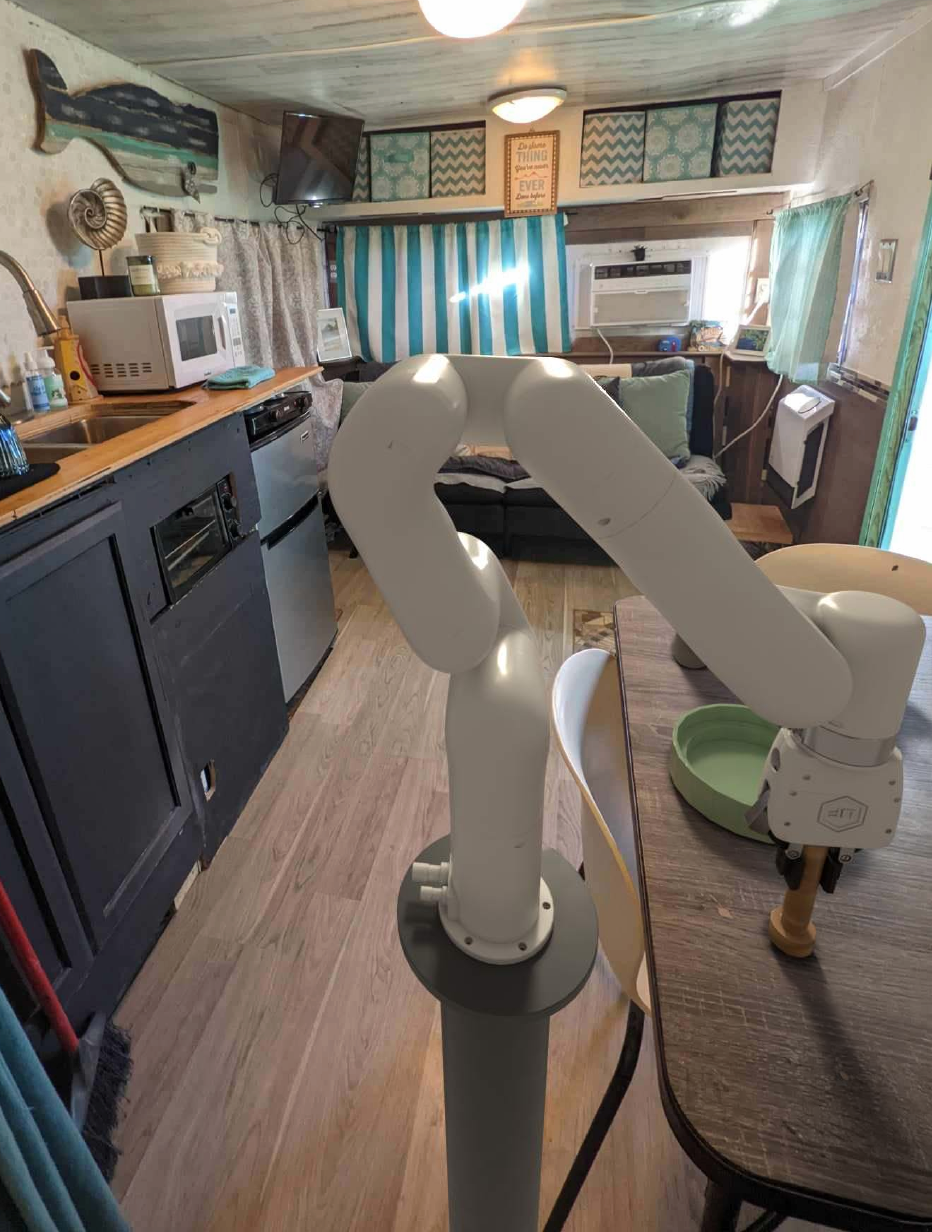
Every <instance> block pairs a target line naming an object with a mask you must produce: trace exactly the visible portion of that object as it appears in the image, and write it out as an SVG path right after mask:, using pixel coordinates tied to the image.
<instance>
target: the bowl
mask: <svg viewBox="0 0 932 1232" xmlns="http://www.w3.org/2000/svg"><path fill="white" fill-rule="evenodd" d="M780 730H781V728H779V727H778V726H777V725H776V724H774V723H771V722H769V721H767V720H765V719H763V718H762V717H760V716H758V715H757V714H755V713H754V712H753V711H752V710H750V709H749V708H748V707H747V706H746V705H745V704H737V703H736V704H735V703H734V704H733V703H713V704H712V703H711V704H707V705H706V704H705V705H700V706H697V707H695V708H692V709H691V710H689V711H687V712H684V713H682V715H681V716H680V717H679V719H677V721H676V722H675V723H674V725H673V730H672V735H671V736H672V737H671V745H670V750H669V751H670V752H669V759H668V766H667V767H668V771H669V773H670V777H671V779H672V782H673V785H674V786H675V787H676V789H677V790H678V791H679V793H680V794H681V795H682V797H683V798H684V799H685V801H686V802H687V803H688V804H689V805H691V806H692V807H693V808H694V809H695V810H697V811H698V812H699V813H700V814H701V815H703V816H704V817H705V818H706V819H708V820H709V821H711V822H713V823H715V824H716V825H718V826H721V827H723V828H725V829H726V830H729V831H731V832H733V833H734V834H737V835H739V836H743V837H746V838H749V839H752V840H757V841H759V842H762V843H767V844H774V845H776V844H775V843H774V842H773V841H772V840H771V839H770V837H769V836H766V835H765V836H764V835H762V834H759V833H757V832H755V831H752V830H750V829H749V827H748V825H747V823H746V821H745V819H744V815H745V814H746V813H747V812H748V810H749V809H750V808H751V807H752V806H753V805H754V804H755V803H756V801H757V796H758V789H759V784H760V780H761V776H762V772H763V769H764V766H765V762H766V760H767V757H768V754H769V752H770V749H771V747H772V745H773V743H774V741H775V739H776V737H777V735H778V733H779V731H780Z"/></svg>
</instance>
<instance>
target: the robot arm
mask: <svg viewBox="0 0 932 1232" xmlns="http://www.w3.org/2000/svg"><path fill="white" fill-rule="evenodd" d="M459 445H461V446H476V447H477V446H478V447H494V448H495V447H496V448H497V447H499V448H507V449H509V451H510V454H511V455H512V456H513V458H514V459H515V461H516V462H517V463H518V464H519V465H520V466H521V467H522V469H523V470H524V471H525V472H526V473H527V474H528V475H529V476H530V477H531V479H533V480H534V481H535V482H536V483H537V484H538V485H539V486H540V487H541V488H542V490H544V491H545V492H546V493H547V494H548V495H549V496H550V497H551V498H552V499H553V500H554V501H555V502H556V504H558V505H559V506H560V507H561V508H562V509H563V510H564V511H565V513H567V514H568V515H569V516H570V517H571V518H572V519H573V520H574V521H575V522H576V523H577V524H578V525H579V526H580V527H581V528H582V529H583V530H584V532H586V533H587V534H588V535H589V536H590V538H591V539H593V541H595V543H597V544H598V546H600V547H601V548H602V550H604V552H606V554H607V555H608V556H609V557H610V558H611V559H612V560H613V561H614V562H615V563H616V565H618V567H619V568H620V569H621V570H622V572H623V573H624V574H625V575H626V577H627V578H628V580H629V581H630V582H631V583H632V584H633V585H634V587H635V588H636V589H637V590H638V592H640V594H642V595H643V597H644V598H646V600H647V601H648V602H649V603H650V604H651V605H652V606H653V608H654V609H655V610H657V612H658V613H659V614H660V615H661V616H662V617H663V618H664V619H665V620H666V622H667V623H668V624H669V625H670V626H671V628H672V629H673V630H674V631H675V633H676V632H677V633H678V634H679V636H680V637H681V638H682V639H683V640H684V641H685V642H686V644H687V645H688V646H689V647H690V648H691V649H692V650H693V652H694V653H695V654H696V655H697V656H698V657H699V658H700V659H701V661H702V662H703V663H704V664H705V666H706V667H707V668H708V669H709V671H711V672H712V674H714V676H715V677H717V678H718V680H719V681H720V682H722V683H723V685H725V686H726V687H727V688H728V689H729V690H730V691H731V693H733V695H734V696H736V697H737V698H738V699H739V701H740V702H742V703H743V705H745V706H747V707H748V708H749V709H750V710H752V711H753V712H754V713H755V714H757V715H758V716H760V717H762V718H763V719H765V720H767V721H769V722H771V723H774V724H776V725H777V726H778V727H779V728H781V730H780V731H779V733H778V735H777V737H776V739H775V741H774V743H773V745H772V747H771V749H770V752H769V754H768V757H767V760H766V762H765V766H764V769H763V772H762V776H761V780H760V784H759V789H758V796H757V801H756V803H755V804H754V805H753V806H752V807H751V808H750V809H749V810H748V812H747V813H746V814H745V815H744V819H745V821H746V823H747V825H748V827H749V829H750V830H752V831H755V832H757V833H759V834H762V835H764V836H765V835H766V836H769V837H770V839H771V840H772V841H773V842H774V843H775V844H774V843H773V844H774V845H776V846H777V849H776V850H777V851H776V854H775V860H774V863H775V868H776V870H777V873H778V875H780V876H783V878H784V880H785V882H786V885H787V886H788V887H789V889H790V890H794V891H797V889H799V887H800V883H801V879H802V875H803V871H804V867H805V861H804V859H803V857H802V855H801V852H802V849H803V846H804V844H807V845H819V846H829V849H828V853H827V856H826V860H825V864H824V868H823V872H822V876H821V880H820V883H819V886H820V887H821V890H822V891H823V892H825V894H830V895H833V894H834V892H835V890H836V886H837V883H838V882H837V881H839V880H840V878H841V874H842V871H843V867H844V864H850V863H851V862H852V861H853V859H854V855H855V854H857V853H859V852H860V851H863V850H864V849H865V850H877V849H885V848H887V847H889V846H890V845H891V843H892V842H893V840H894V839H895V837H896V833H897V830H898V829H897V828H898V824H899V820H900V815H901V809H902V802H903V795H904V759H903V757H904V756H903V753H902V752H901V750H900V748H898V747H897V745H896V744H897V740H898V737H899V734H900V730H901V726H902V722H903V720H904V715H905V712H906V708H907V705H908V701H909V698H910V695H911V691H912V688H913V685H914V681H915V678H916V674H917V671H918V667H919V664H920V661H921V657H922V653H923V650H924V647H925V644H926V643H925V642H926V637H927V627H926V623H925V621H924V619H923V618H922V616H921V615H920V614H919V613H918V612H917V611H916V610H915V609H913V608H912V607H910V606H909V605H908V604H906V603H905V602H902V601H901V600H898V599H895V598H893V597H890V596H887V595H883V594H880V593H875V592H870V591H864V590H863V591H862V590H841V591H834V592H829V593H827V592H821V591H814V590H807V589H802V588H801V589H800V588H797V587H791V586H786V585H780V584H775V583H774V582H773V581H772V580H771V579H770V578H769V576H768V575H767V574H766V573H765V572H764V571H763V569H762V568H761V567H760V565H758V564H757V563H756V561H755V560H754V559H753V558H752V557H751V556H750V554H749V553H748V552H747V551H746V549H745V548H744V547H743V545H742V544H741V543H740V541H739V540H738V539H737V537H736V536H735V535H734V533H733V531H732V530H731V529H730V528H729V526H728V525H727V524H726V522H725V521H724V519H723V518H722V516H721V515H720V514H719V513H718V511H716V509H715V508H714V507H713V506H712V505H711V504H710V502H709V501H708V500H707V499H706V498H705V496H704V495H703V494H702V493H701V492H700V491H699V490H698V488H697V487H696V486H695V485H694V484H693V483H691V481H690V480H689V479H688V478H687V477H686V476H685V475H684V474H683V473H682V471H680V469H678V468H677V466H675V464H673V462H671V460H670V459H669V458H668V457H667V456H666V455H665V454H664V452H662V451H661V450H660V449H659V448H658V447H657V445H656V444H655V443H654V442H653V441H652V440H651V439H650V438H649V437H648V436H647V434H645V432H643V431H642V429H641V428H640V427H639V426H638V425H637V424H636V423H635V422H634V421H633V420H632V418H630V416H628V414H627V413H626V412H625V411H624V410H623V409H622V408H621V407H620V405H618V404H617V403H616V401H615V400H613V398H612V397H611V396H610V395H609V394H608V393H607V392H606V390H604V389H603V388H602V387H601V386H600V385H599V384H598V383H597V381H596V380H595V379H594V378H593V377H592V376H591V375H590V374H589V373H588V372H587V371H586V370H585V369H584V368H583V367H581V366H580V365H578V364H577V363H575V362H573V361H570V360H567V359H564V358H558V357H550V356H549V357H545V356H544V357H543V356H507V355H506V356H504V355H503V356H502V355H481V354H479V355H478V354H459V353H458V354H455V353H420V354H419V353H418V354H414V355H412V356H408V357H405V358H404V359H402V360H399V361H398V362H396V363H395V364H394V365H392V366H391V367H389V369H388V370H386V371H385V372H383V374H381V375H380V376H379V377H378V378H377V379H376V380H374V381H373V382H372V383H371V384H370V385H369V386H368V387H367V389H366V390H365V391H364V392H363V393H362V394H361V395H360V397H359V398H358V400H356V402H355V404H353V406H352V407H351V409H350V410H349V412H348V413H347V415H346V416H345V418H344V420H343V421H342V423H341V425H340V427H339V428H338V431H337V432H336V434H335V437H334V439H333V441H332V444H331V447H330V450H329V454H328V461H327V471H326V472H327V473H326V474H327V476H326V479H327V480H326V481H327V487H328V493H329V497H330V500H331V503H332V506H333V508H334V510H335V512H336V515H337V517H338V519H339V521H340V522H341V525H342V526H343V529H344V530H345V532H346V533H347V535H348V536H349V538H350V540H351V542H352V543H353V545H354V546H355V548H356V550H357V552H358V553H359V555H360V557H361V559H362V561H363V563H364V565H365V566H366V568H367V571H368V572H369V574H370V577H371V579H372V581H373V583H374V585H375V586H376V588H377V590H378V592H379V593H380V595H381V597H382V599H383V601H384V602H385V604H386V606H387V608H388V610H389V612H390V614H391V615H392V617H393V619H394V620H395V621H394V622H396V624H397V626H398V628H399V630H400V632H401V634H402V636H403V638H404V639H405V642H406V643H407V644H408V646H409V647H410V649H411V650H412V652H413V653H414V654H415V656H416V657H418V659H420V661H421V662H422V663H424V664H425V665H427V666H428V667H429V668H431V669H433V670H435V671H438V672H441V673H443V674H448V675H450V676H449V681H448V689H447V695H446V696H447V697H446V707H445V715H444V717H445V718H444V741H445V751H446V752H445V753H446V760H447V774H448V775H447V776H448V777H447V779H448V801H449V823H450V824H449V825H450V827H449V828H450V829H449V830H450V833H451V854H450V863H446V862H441V866H439V865H429V864H428V863H417V862H414V863H413V862H412V863H413V868H412V881H414V882H424V883H428V882H433V883H440V888H433V887H428V886H421V894H420V899H421V900H423V901H438V908H439V914H440V920H441V922H442V925H443V928H444V930H445V931H446V933H447V935H448V936H449V938H450V939H451V940H452V941H453V943H454V944H455V945H456V946H457V947H458V948H459V949H461V950H462V951H463V952H465V953H466V954H467V955H469V956H471V957H473V958H475V959H477V960H479V961H483V962H486V963H489V964H498V965H506V964H514V963H518V962H521V961H524V960H526V959H528V958H530V957H532V956H534V955H535V954H536V953H537V952H538V951H539V950H541V949H542V947H543V946H544V945H545V943H546V942H547V940H548V939H549V936H550V934H551V931H552V927H553V922H554V905H553V899H552V896H551V893H550V890H549V888H548V887H547V885H546V883H545V881H544V880H543V879H542V878H541V858H542V842H543V835H544V834H543V833H544V832H543V831H544V813H545V812H544V810H545V786H546V772H547V766H548V759H549V753H550V745H551V719H550V709H549V699H548V692H547V685H546V684H547V683H546V680H545V673H544V666H543V658H542V651H541V647H540V644H539V640H538V639H537V636H536V634H535V632H534V629H533V626H532V625H531V623H530V620H529V619H528V617H527V615H526V613H525V611H524V608H523V607H522V604H521V603H520V601H519V598H518V597H517V595H516V592H515V590H514V588H513V586H512V584H511V582H510V580H509V578H508V576H507V574H506V572H505V570H504V568H503V566H502V564H501V562H500V561H499V559H498V557H497V555H496V554H495V553H494V552H493V551H492V549H491V548H490V547H489V546H488V545H487V544H486V543H485V542H483V541H482V540H481V539H480V538H477V537H476V536H474V535H472V534H468V533H466V532H460V531H457V529H456V527H455V524H454V522H453V520H452V518H451V515H449V513H448V511H447V509H446V507H445V505H444V504H443V503H442V501H441V500H440V499H439V497H438V495H437V494H436V491H435V480H436V476H437V474H438V472H439V471H440V469H442V467H443V466H444V465H445V463H447V461H448V460H449V459H450V458H451V456H452V455H453V454H454V452H455V451H456V449H457V448H458V446H459ZM522 950H523V951H522Z"/></svg>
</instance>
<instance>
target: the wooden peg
mask: <svg viewBox="0 0 932 1232" xmlns="http://www.w3.org/2000/svg"><path fill="white" fill-rule="evenodd" d="M828 849H829V846H819V845H807V844H804V846H803V849H802V852H801V855H802V857H803V859H804V861H805V867H804V871H803V875H802V879H801V883H800V887H799V889H797V891H794V890H790V889H789V887H788V885H787V886H786V891H785V893H784V899H783V902H782V906H778V907H775V908H774V909H772V911H771V913H770V916H769V921H768V926H767V933H768V936H769V938H770V940H771V941H772V943H773V944H774V945H775V946H776V948H778V949H779V950H780V951H782V952H783V953H785V954H787V955H789V956H791V957H796V958H805V957H808V956H809V955H811V954H812V953H813V950H814V947H815V942H816V940H817V929H816V927H815V925H814V923H813V922H812V920H811V919H812V914H813V909H814V906H815V902H816V898H817V895H818V891H819V887H820V884H819V883H820V880H821V876H822V872H823V868H824V864H825V860H826V856H827V853H828Z"/></svg>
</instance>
